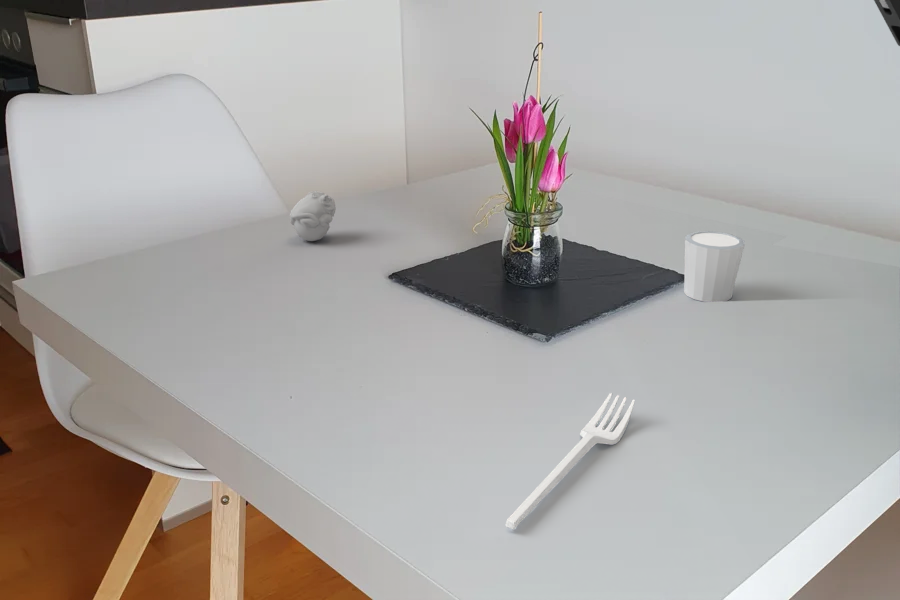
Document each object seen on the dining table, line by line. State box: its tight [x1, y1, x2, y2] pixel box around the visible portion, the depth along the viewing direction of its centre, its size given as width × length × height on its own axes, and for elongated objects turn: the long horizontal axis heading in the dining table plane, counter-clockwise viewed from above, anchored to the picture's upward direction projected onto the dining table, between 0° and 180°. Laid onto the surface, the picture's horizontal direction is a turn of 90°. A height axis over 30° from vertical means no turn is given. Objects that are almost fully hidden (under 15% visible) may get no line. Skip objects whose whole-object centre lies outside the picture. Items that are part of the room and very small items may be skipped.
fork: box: [505, 392, 636, 530], centre depth 67 cm, size 3×20×2 cm, turn 146°
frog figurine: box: [289, 190, 337, 242], centre depth 120 cm, size 6×7×7 cm
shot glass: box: [683, 230, 746, 303], centre depth 101 cm, size 7×7×7 cm
